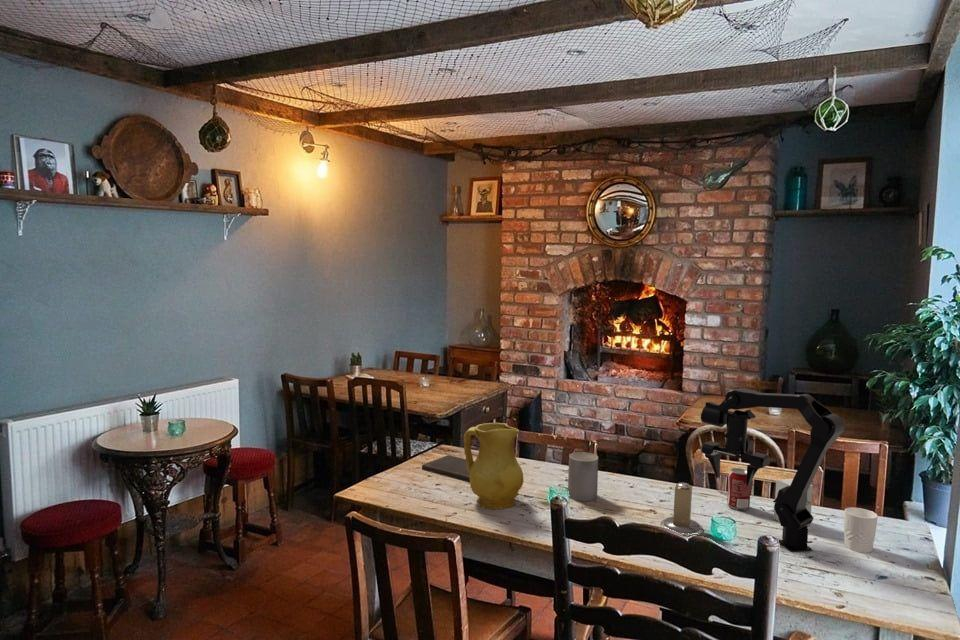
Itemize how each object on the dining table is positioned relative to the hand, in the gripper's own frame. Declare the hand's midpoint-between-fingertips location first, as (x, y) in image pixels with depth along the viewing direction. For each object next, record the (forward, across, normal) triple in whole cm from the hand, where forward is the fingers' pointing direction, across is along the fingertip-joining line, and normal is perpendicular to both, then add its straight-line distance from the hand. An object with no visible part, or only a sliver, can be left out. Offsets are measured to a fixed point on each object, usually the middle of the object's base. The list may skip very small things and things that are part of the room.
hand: (732, 481), depth 190 cm
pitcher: (+14, +59, +41) cm, 73 cm away
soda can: (+13, +4, -16) cm, 21 cm away
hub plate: (+13, +8, +13) cm, 21 cm away
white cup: (+13, -31, -12) cm, 36 cm away
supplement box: (+13, -12, -16) cm, 24 cm away
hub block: (+12, +8, +13) cm, 20 cm away
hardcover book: (+15, +89, +29) cm, 95 cm away
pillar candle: (+14, +43, +15) cm, 48 cm away
